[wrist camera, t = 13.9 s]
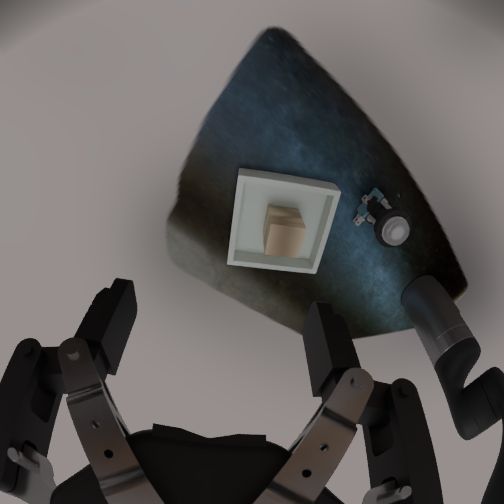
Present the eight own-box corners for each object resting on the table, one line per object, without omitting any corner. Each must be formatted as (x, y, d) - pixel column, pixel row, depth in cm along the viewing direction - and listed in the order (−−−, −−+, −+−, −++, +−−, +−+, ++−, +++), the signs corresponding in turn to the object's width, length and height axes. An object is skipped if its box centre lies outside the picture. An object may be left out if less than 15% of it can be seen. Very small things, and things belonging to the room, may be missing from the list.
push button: (363, 229, 42) (388, 265, 33) (341, 211, 40) (364, 245, 32) (390, 198, 39) (421, 229, 30) (368, 178, 37) (399, 205, 29)
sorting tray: (333, 183, 38) (341, 191, 35) (311, 260, 45) (315, 273, 42) (239, 167, 36) (238, 175, 34) (228, 251, 44) (227, 264, 41)
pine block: (298, 209, 39) (306, 228, 34) (292, 236, 41) (298, 258, 36) (267, 204, 39) (270, 223, 34) (262, 232, 41) (264, 254, 36)
